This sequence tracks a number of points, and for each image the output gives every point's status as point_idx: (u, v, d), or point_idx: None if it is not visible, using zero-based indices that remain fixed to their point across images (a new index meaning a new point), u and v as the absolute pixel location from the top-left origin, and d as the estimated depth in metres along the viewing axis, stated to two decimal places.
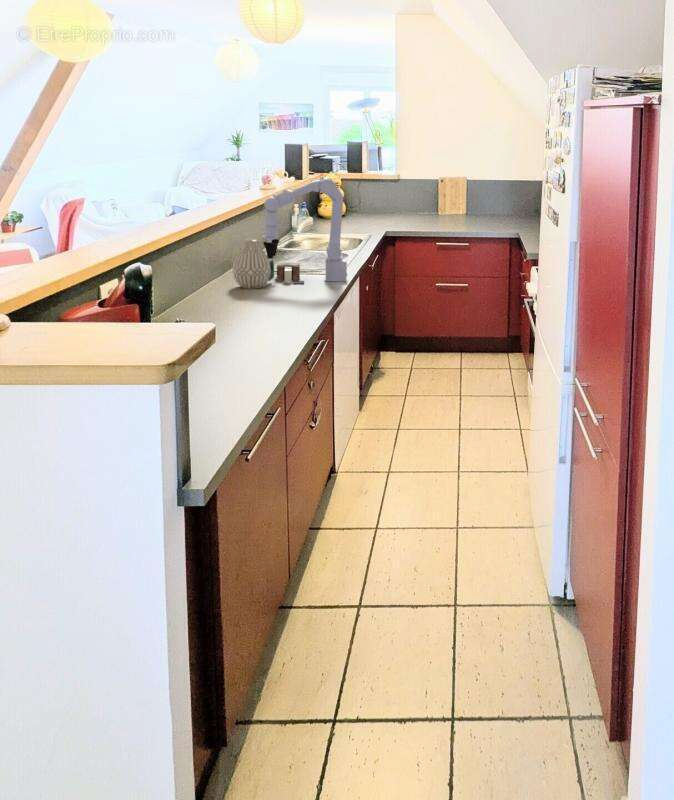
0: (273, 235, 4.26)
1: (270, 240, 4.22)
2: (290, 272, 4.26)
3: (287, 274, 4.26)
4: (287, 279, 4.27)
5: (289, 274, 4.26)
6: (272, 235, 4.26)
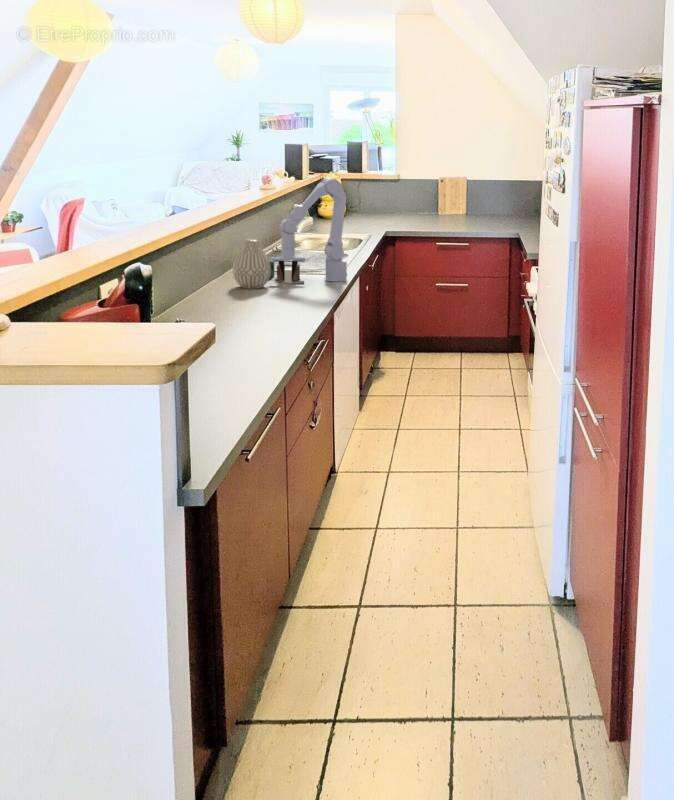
0: (282, 256, 4.25)
1: (271, 259, 4.26)
2: (290, 272, 4.26)
3: (287, 274, 4.26)
4: (287, 278, 4.27)
5: (289, 274, 4.26)
6: None
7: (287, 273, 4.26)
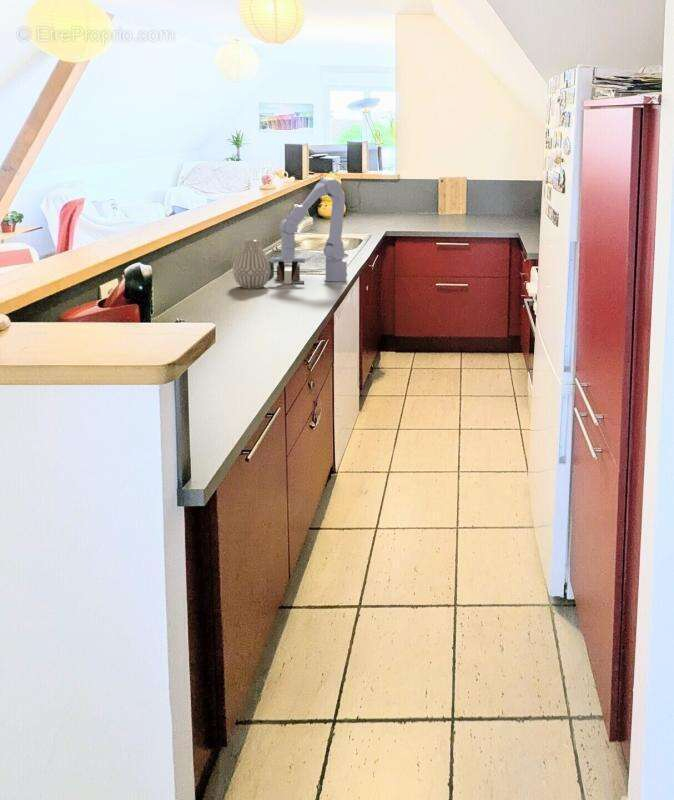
0: (282, 257, 4.23)
1: (271, 260, 4.23)
2: (290, 272, 4.24)
3: (287, 274, 4.24)
4: (287, 279, 4.24)
5: (289, 274, 4.24)
6: (281, 256, 4.23)
7: (287, 274, 4.24)
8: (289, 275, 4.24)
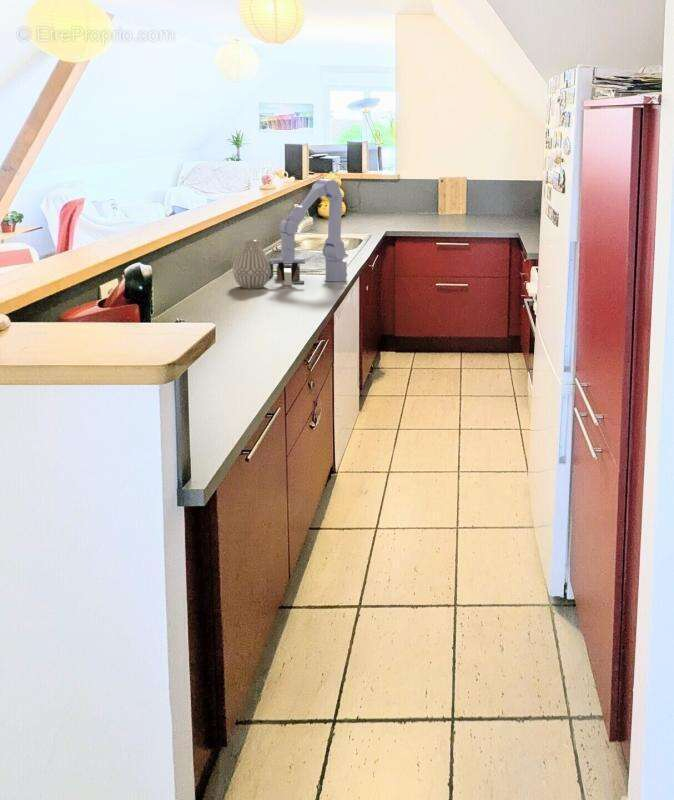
0: (282, 258, 4.18)
1: (271, 261, 4.19)
2: (290, 274, 4.19)
3: (287, 276, 4.19)
4: (287, 281, 4.20)
5: (289, 276, 4.19)
6: (281, 258, 4.19)
7: (287, 275, 4.19)
8: (289, 277, 4.19)
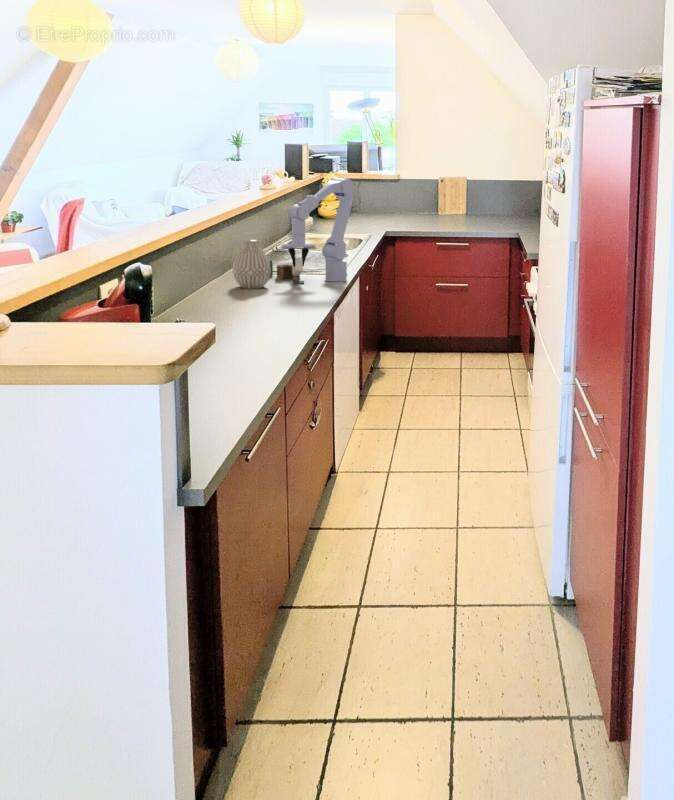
0: (292, 243, 4.17)
1: (281, 247, 4.17)
2: (301, 259, 4.19)
3: (298, 261, 4.19)
4: (298, 266, 4.19)
5: (300, 261, 4.19)
6: (292, 243, 4.17)
7: (298, 260, 4.19)
8: (300, 261, 4.19)
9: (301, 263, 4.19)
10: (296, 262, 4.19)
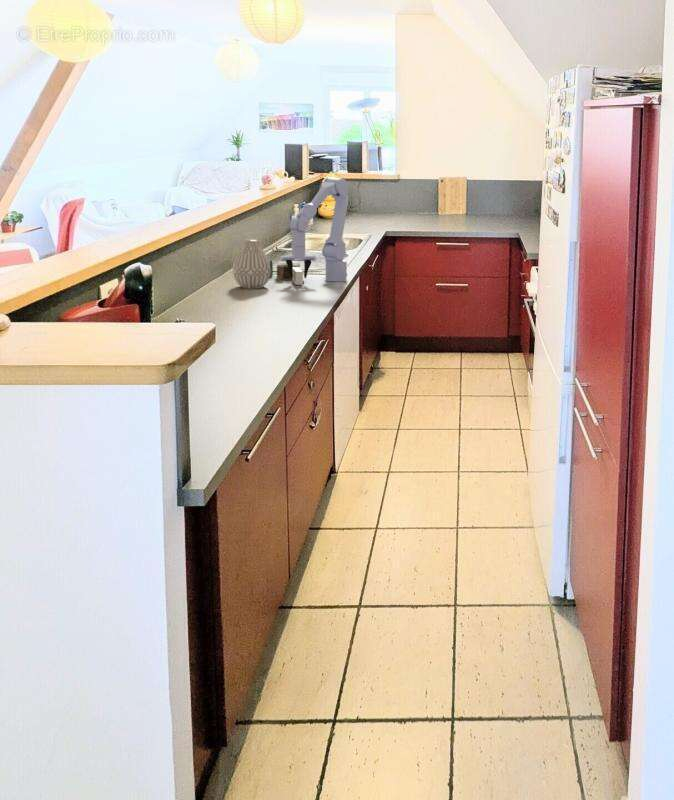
0: (292, 255, 4.18)
1: (281, 259, 4.18)
2: (301, 273, 4.19)
3: (298, 275, 4.19)
4: (299, 280, 4.20)
5: (300, 275, 4.19)
6: (292, 255, 4.19)
7: (298, 275, 4.19)
8: (300, 276, 4.20)
9: (301, 277, 4.20)
10: (296, 276, 4.19)
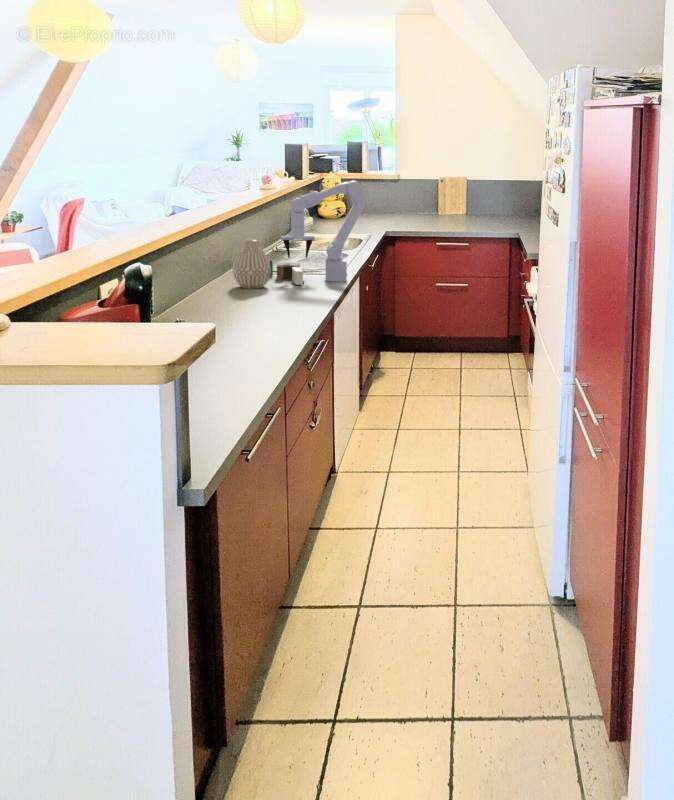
0: (292, 235, 4.28)
1: (281, 238, 4.28)
2: (301, 273, 4.19)
3: (298, 275, 4.19)
4: (299, 280, 4.20)
5: (300, 275, 4.19)
6: (291, 235, 4.28)
7: (298, 275, 4.19)
8: (300, 276, 4.20)
9: (301, 277, 4.20)
10: (296, 276, 4.19)
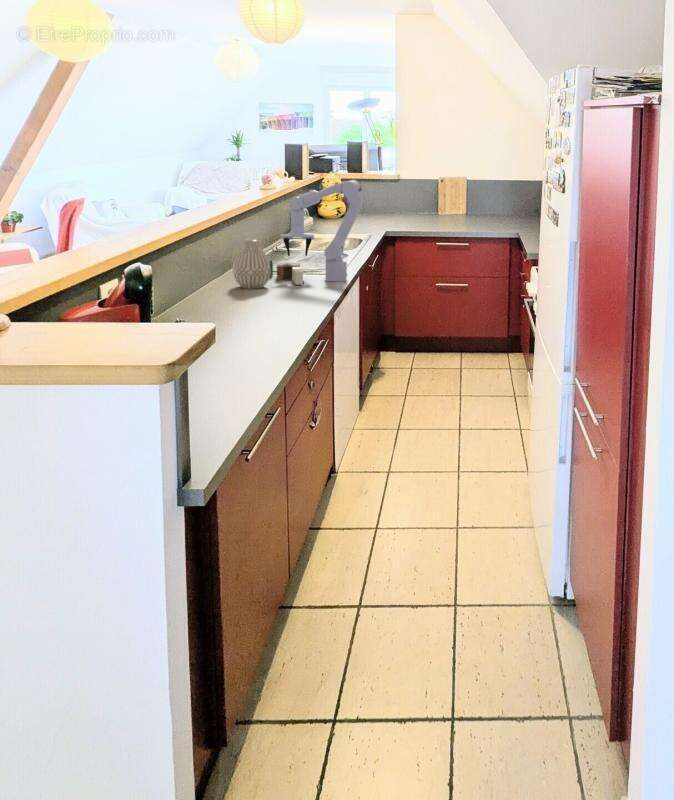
0: (291, 233, 4.33)
1: (281, 237, 4.34)
2: (301, 273, 4.19)
3: (298, 275, 4.19)
4: (299, 280, 4.20)
5: (300, 275, 4.19)
6: (291, 233, 4.33)
7: (298, 275, 4.19)
8: (300, 276, 4.20)
9: (301, 277, 4.20)
10: (296, 276, 4.19)
